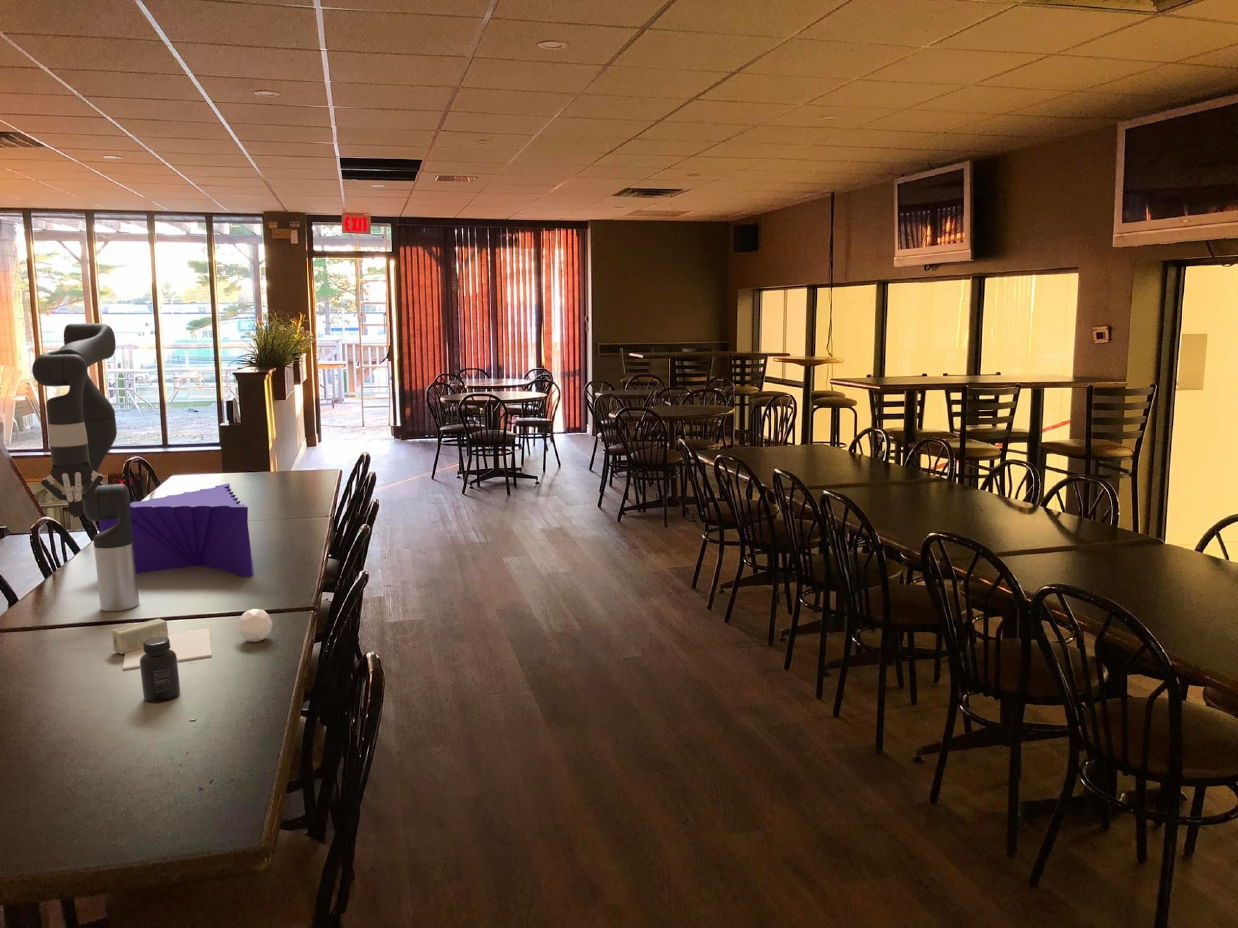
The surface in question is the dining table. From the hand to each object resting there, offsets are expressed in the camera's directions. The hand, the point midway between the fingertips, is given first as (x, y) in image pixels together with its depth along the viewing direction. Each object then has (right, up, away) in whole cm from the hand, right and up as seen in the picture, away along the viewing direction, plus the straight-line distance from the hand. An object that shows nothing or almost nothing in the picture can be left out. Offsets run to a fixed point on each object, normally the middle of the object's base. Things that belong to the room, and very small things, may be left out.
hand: (77, 516), depth 217 cm
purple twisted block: (-6, -19, +82) cm, 84 cm away
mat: (+20, -31, +3) cm, 37 cm away
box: (+10, -29, -1) cm, 30 cm away
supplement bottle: (+32, -36, -25) cm, 54 cm away
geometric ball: (+38, -30, +8) cm, 50 cm away
